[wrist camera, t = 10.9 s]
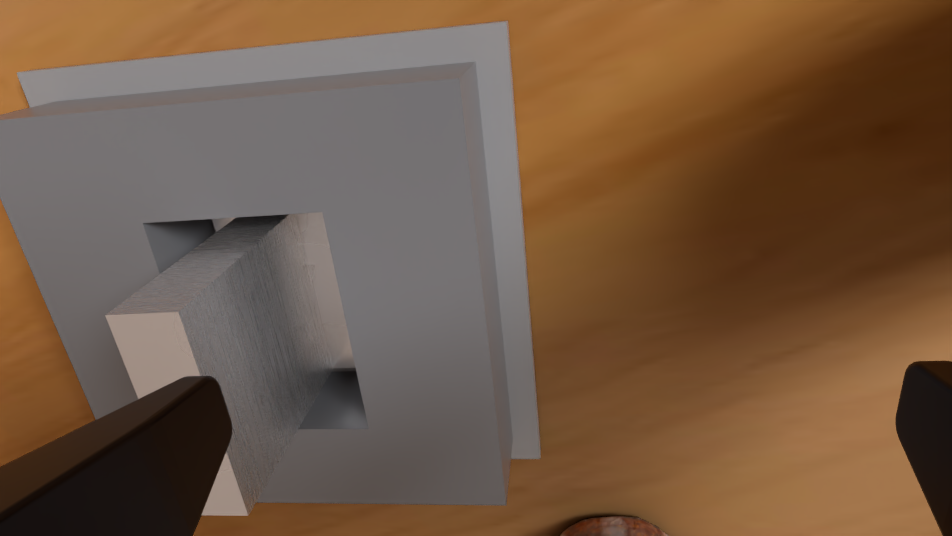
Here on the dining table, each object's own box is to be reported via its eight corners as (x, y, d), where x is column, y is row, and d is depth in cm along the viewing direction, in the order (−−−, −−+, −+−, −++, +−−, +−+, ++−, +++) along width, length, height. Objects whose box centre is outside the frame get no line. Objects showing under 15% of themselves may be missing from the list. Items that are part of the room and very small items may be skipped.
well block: (508, 20, 19) (495, 31, 15) (540, 448, 25) (538, 528, 21) (30, 70, 21) (-80, 89, 17) (173, 449, 27) (115, 520, 24)
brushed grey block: (339, 194, 21) (224, 310, 14) (371, 349, 23) (288, 515, 16) (228, 203, 21) (61, 316, 14) (270, 352, 24) (146, 514, 17)
